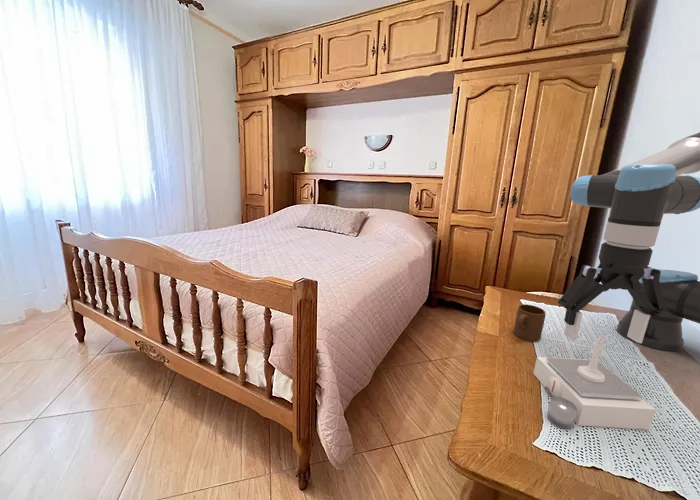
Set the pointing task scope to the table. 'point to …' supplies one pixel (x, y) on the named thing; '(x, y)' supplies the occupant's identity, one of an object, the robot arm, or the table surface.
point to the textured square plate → (585, 387)
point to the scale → (595, 403)
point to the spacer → (561, 412)
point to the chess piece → (594, 363)
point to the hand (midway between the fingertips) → (601, 338)
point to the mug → (529, 322)
